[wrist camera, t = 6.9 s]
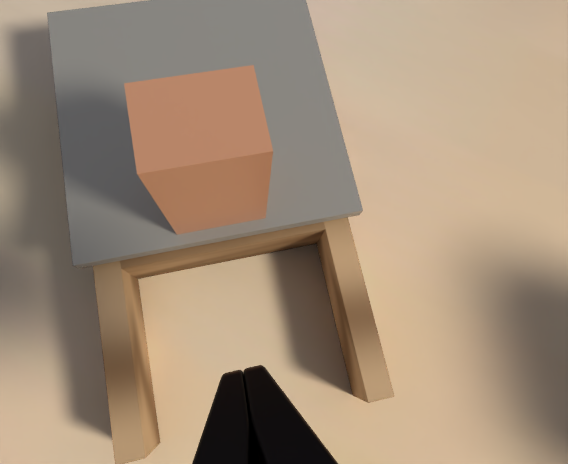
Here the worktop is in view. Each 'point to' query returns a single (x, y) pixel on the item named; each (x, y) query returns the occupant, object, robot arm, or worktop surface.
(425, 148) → the worktop surface
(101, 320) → the oak box
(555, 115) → the worktop surface
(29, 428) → the worktop surface
